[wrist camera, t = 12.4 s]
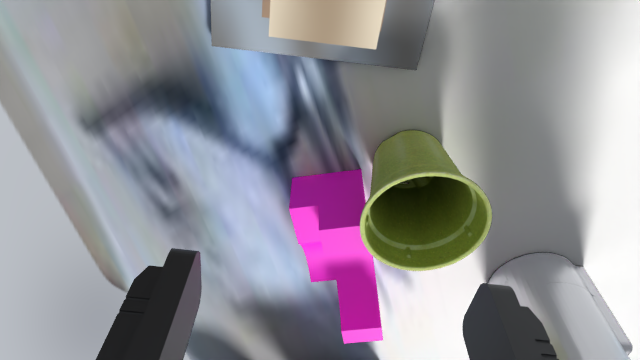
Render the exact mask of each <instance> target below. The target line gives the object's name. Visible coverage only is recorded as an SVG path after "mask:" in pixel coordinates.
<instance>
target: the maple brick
mask: <svg viewBox="0 0 640 360" xmlns="http://www.w3.org/2000/svg"><path fill="white" fill-rule="evenodd" d="M385 2H386V0H270V19H269V37H277V38H285V39H293V40H302V41H310V42H318V43H326V44H335V45H343V46H351V47H359V48H368V49H376V48H377V42H378V37H379V32H380V27H381V22H382V17H383V12H384V7H385Z"/></svg>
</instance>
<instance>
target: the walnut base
mask: <svg viewBox="0 0 640 360" xmlns="http://www.w3.org/2000/svg"><path fill="white" fill-rule="evenodd" d="M434 1H435V0H386V2H385V7H384V12H383V17H382V22H381V27H380V32H379V37H378V42H377V48H376V49H368V48H359V47H351V46H343V45H335V44H326V43H318V42H310V41H302V40H293V39H285V38H277V37H269V19H270V0H211V35H212V46H216V47H225V48H233V49H241V50H250V51H258V52H267V53H275V54H284V55H292V56H301V57H309V58H318V59H326V60H335V61H343V62H352V63H360V64H369V65H377V66H386V67H394V68H403V69H411V70H417V66H418V62H419V58H420V54H421V51H422V47H423V43H424V39H425V35H426V31H427V28H428V24H429V20H430V16H431V12H432V8H433V5H434Z"/></svg>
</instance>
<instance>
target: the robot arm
mask: <svg viewBox="0 0 640 360" xmlns="http://www.w3.org/2000/svg"><path fill="white" fill-rule="evenodd" d="M200 298H201V260H200V252H199V251H192V250H183V249H173V248H172V249H171V250H170V252H169V254H168V256H167V259H166V261H165V264H164V266H163V267H157V266H148V267H147V268H146V269H145V270H144V271H143V272H142V273H141V274H139V275H138V276H137V277H136V278H135V279H134V281H133V283H132V285H131V287H130V289H129V291H128V293H127V295H126V299H125V300H124V302H123V304H122V306H121V308H120V312H119V314H118V315H117V316H116V319H115V321H114V323H113V325H112V327H111V329H110V331H109V333H108V335H107V337H106V339H105V342H104V344H103V346H102V348H101V350H100V352H99V354H98V356H97V358H96V360H183V358H184V355H185V351H186V348H187V345H188V342H189V338H190V335H191V332H192V328H193V325H194V322H195V318H196V315H197V312H198V308H199V304H200ZM463 337H464V341H465V344H466V348H467V351H468V355H469V358H470V360H630V358H629V357H628V355H629V354H630V353H631V351H632V344H631V342H630V341H629V339H628V338H627V336H626V334H625V333H624V331H623V330H622V328H621V326H620V325H619V323H618V322H617V320H616V318H615V317H614V315H613V314H612V312H611V310H610V309H609V307H608V305H607V304H606V302H605V301H604V299H603V297H602V296H601V294H600V293H599V291H598V289H597V288H596V286H595V285H594V283H593V281H592V280H591V278H590V277H589V275H588V273H587V272H586V270H585V269H584V267H581V266H575V265H574V264H572V263H571V262H570V261H569V260H568V259H567V258H565V257H563V256H560V255H557V254H553V253H533V254H528V255H524V256H521V257H518V258H515V259H513V260H511V261H509V262H507V263H505V264H504V265H503V266H501V267H500V268H499V269H498V270H497V271H495V272H494V274H493V275H492V277H491V278H490V280H489V283H488V284H487V283H483V284H481V285H480V287H479V288H478V290H477V292H476V294H475V296H474V298H473V300H472V302H471V304H470V306H469V308H468V310H467V312H466V314H465V316H464V320H463Z"/></svg>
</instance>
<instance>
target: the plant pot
mask: <svg viewBox="0 0 640 360" xmlns="http://www.w3.org/2000/svg"><path fill="white" fill-rule="evenodd" d="M400 182H409V183H408V184H399V183H400ZM491 222H492V209H491V205H490V202H489V200H488V198H487V196H486V194H485V193H484V192H483V190H482V189H481V188H480V187H479V186H478V185H477V184H476V183H474V182H473V181H471V180H470V179H468V178H466V177H464V176H463V175H462V174H461V173H460V172H459V170H458V169H457V167H456V166H455V164H454V163H453V161H452V160H451V158H450V157H449V155H448V154H447V153H446V151H445V150H444V148H443V147H442V145H441V144H440V143H439V141H438V140H437V139H436V138H435V137H433V136H432V135H430V134H428V133H425V132H422V131H416V130H408V131H402V132H399V133H397V134H396V135H394V136H393V137H391V138H389V139H387V140H385V141H383V142H382V143H381V144H380V146H379V147H378V149H377V150H376V152H375V155H374V160H373V170H372V182H371V192H370V198H369V199H368V201H367V202H366V204H365V206H364V208H363V210H362V213H361V217H360V234H361V238H362V241H363V243H364V245H365V247H366V248H367V250H368V251H369V252H370V254H371V255H373V256H374V257H375V258H376V259H378V260H379V261H381V262H383V263H385V264H387V265H389V266H392V267H394V268H397V269H402V270H409V271H425V270H433V269H438V268H442V267H445V266H448V265H451V264H454V263H456V262H458V261H460V260H462V259H463V258H465V257H466V256H468V255H469V254H471V253H472V252H473V251H474V250H475V249H477V247H479V245H480V244H481V243H482V242H483V241H484V239H485V238H486V236H487V234H488V231H489V229H490V226H491Z"/></svg>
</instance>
